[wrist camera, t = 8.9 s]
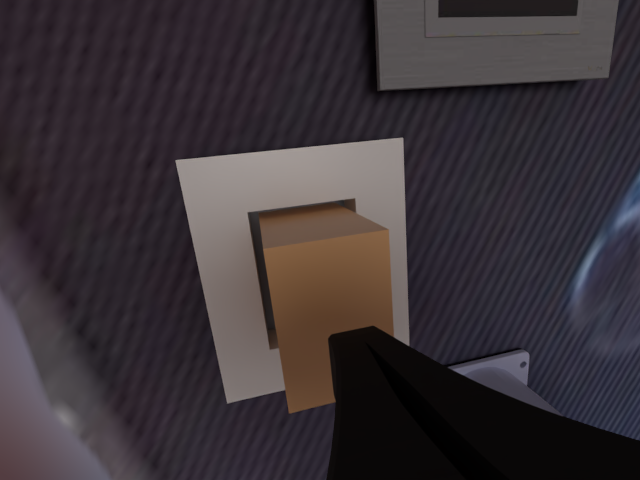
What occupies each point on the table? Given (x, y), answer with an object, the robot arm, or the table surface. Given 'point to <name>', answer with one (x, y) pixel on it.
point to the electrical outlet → (491, 42)
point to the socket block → (247, 249)
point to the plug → (323, 289)
